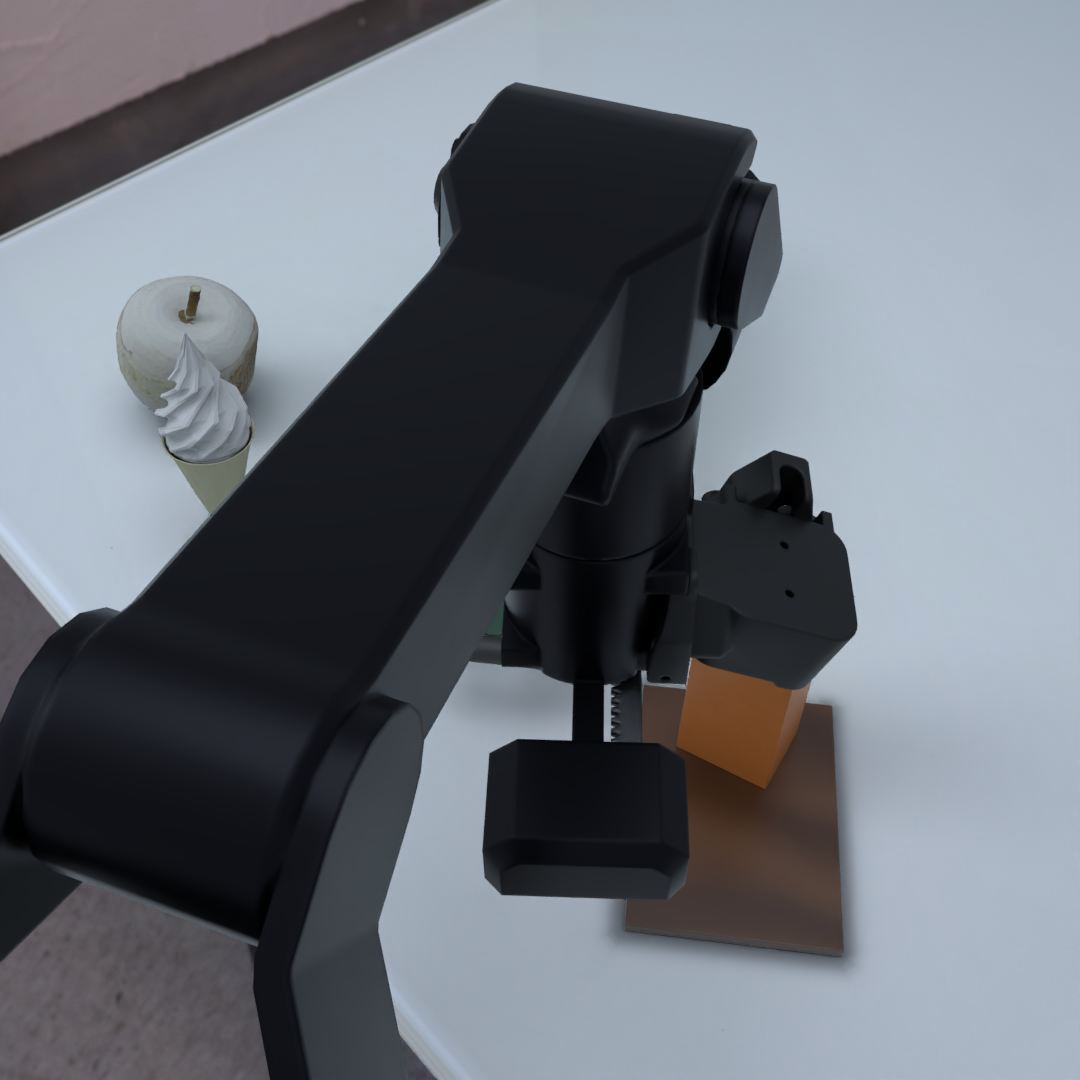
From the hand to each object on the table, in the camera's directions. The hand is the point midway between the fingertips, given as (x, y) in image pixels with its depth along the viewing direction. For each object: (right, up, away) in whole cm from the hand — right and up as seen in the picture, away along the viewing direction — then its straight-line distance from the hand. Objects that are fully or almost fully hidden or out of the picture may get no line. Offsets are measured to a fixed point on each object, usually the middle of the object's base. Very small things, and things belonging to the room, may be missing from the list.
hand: (583, 754), depth 52 cm
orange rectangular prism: (+8, -2, +16) cm, 18 cm away
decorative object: (-24, +17, +34) cm, 45 cm away
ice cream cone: (-20, +8, +26) cm, 34 cm away
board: (+8, -5, +14) cm, 17 cm away
